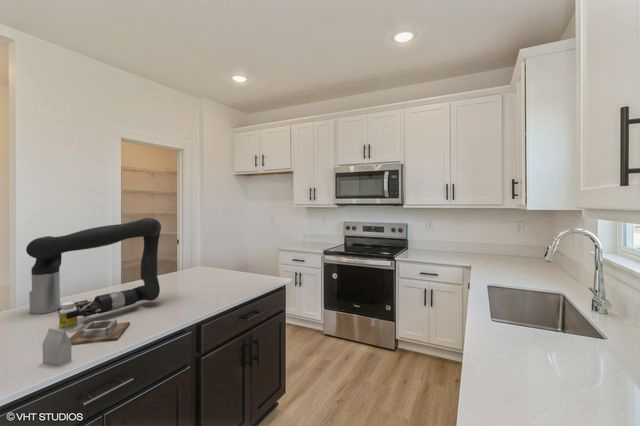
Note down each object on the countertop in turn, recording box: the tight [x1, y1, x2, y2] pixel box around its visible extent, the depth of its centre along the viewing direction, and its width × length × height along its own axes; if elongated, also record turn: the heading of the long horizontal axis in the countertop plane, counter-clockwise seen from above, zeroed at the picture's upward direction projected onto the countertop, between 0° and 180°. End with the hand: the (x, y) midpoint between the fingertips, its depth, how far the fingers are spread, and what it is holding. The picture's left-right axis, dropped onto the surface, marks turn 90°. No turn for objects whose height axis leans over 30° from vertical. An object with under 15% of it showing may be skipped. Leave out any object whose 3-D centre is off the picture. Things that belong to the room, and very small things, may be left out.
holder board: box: [68, 319, 131, 346], centre depth 111 cm, size 16×14×4 cm
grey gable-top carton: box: [42, 327, 73, 367], centre depth 93 cm, size 4×7×10 cm, turn 74°
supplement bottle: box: [58, 301, 78, 331], centre depth 117 cm, size 5×5×10 cm
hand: (62, 313), depth 115 cm, fingers open, 8 cm apart
